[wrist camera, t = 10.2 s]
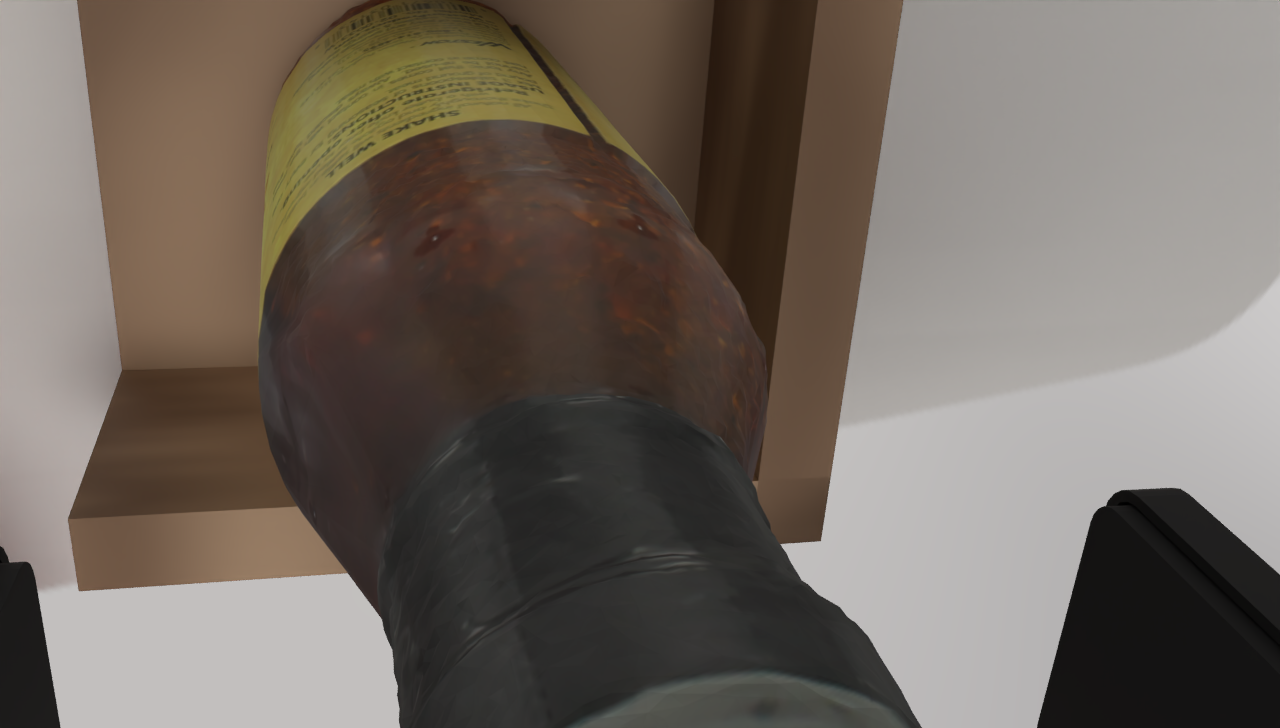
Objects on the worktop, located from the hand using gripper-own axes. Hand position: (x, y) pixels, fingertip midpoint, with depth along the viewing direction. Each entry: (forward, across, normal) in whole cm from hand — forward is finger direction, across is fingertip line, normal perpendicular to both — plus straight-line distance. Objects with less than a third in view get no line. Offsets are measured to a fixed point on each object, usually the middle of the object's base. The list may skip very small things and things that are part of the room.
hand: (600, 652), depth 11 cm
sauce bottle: (+17, +1, 0) cm, 17 cm away
